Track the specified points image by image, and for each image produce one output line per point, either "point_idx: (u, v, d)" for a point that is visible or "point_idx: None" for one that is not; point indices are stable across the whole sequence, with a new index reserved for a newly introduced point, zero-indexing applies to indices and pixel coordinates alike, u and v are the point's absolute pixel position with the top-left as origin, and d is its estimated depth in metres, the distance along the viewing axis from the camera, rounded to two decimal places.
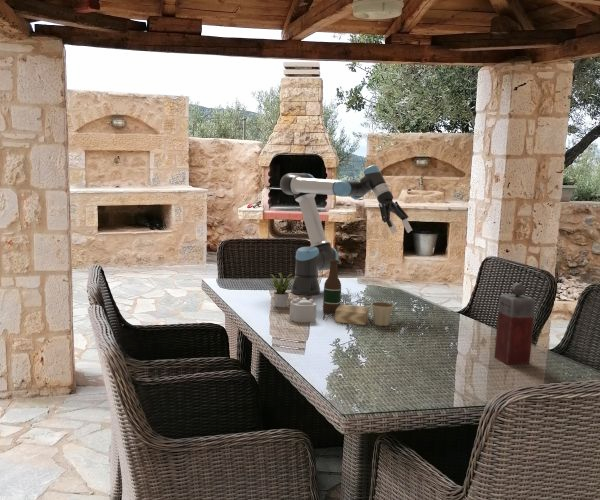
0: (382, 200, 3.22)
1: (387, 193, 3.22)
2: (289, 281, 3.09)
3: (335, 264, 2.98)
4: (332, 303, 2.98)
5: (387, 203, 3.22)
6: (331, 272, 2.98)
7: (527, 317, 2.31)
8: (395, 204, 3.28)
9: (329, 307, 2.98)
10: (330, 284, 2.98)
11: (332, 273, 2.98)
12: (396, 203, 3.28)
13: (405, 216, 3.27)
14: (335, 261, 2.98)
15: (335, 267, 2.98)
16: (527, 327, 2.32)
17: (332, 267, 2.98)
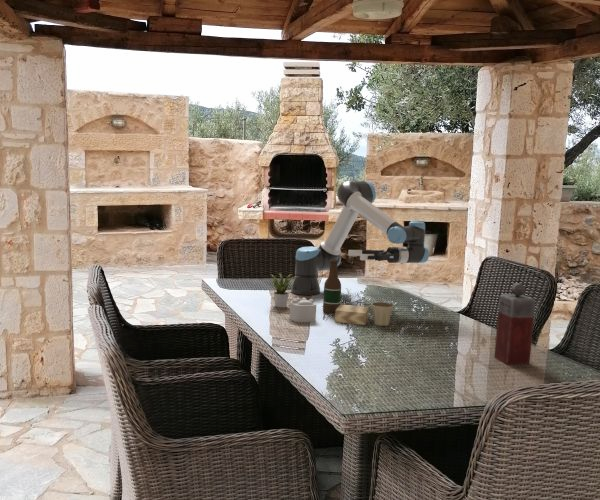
0: (393, 256, 3.04)
1: (395, 262, 3.07)
2: (289, 281, 3.09)
3: (335, 264, 2.98)
4: (332, 303, 2.98)
5: None
6: (331, 272, 2.98)
7: (527, 317, 2.31)
8: None
9: (329, 307, 2.98)
10: (329, 284, 2.98)
11: (332, 273, 2.98)
12: None
13: None
14: (335, 261, 2.98)
15: (335, 267, 2.98)
16: (527, 327, 2.32)
17: (332, 267, 2.98)
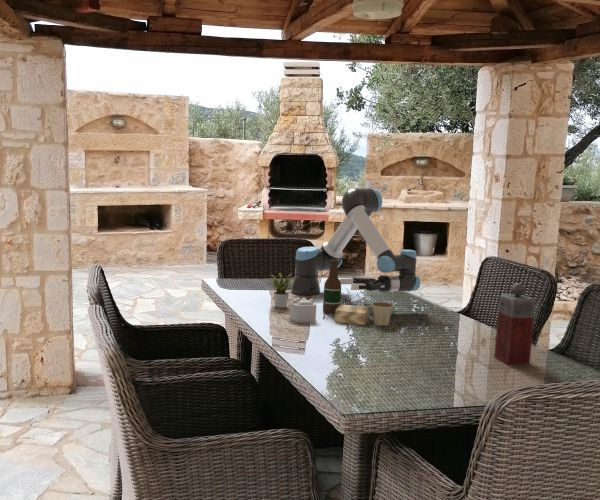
0: (384, 285, 3.04)
1: (386, 291, 3.07)
2: (288, 281, 3.09)
3: (335, 264, 2.98)
4: (332, 303, 2.98)
5: None
6: (331, 272, 2.98)
7: (527, 317, 2.31)
8: None
9: (329, 307, 2.98)
10: (330, 284, 2.98)
11: (332, 273, 2.98)
12: None
13: None
14: (335, 261, 2.98)
15: (335, 267, 2.98)
16: (527, 327, 2.32)
17: (332, 267, 2.98)
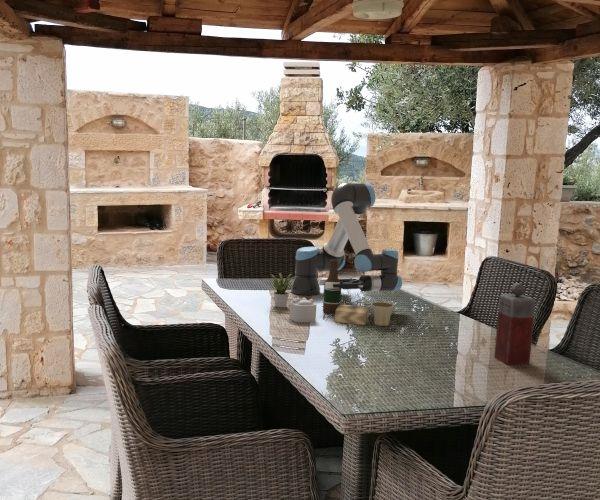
0: (365, 285, 3.02)
1: None
2: (289, 281, 3.09)
3: (335, 264, 2.98)
4: (332, 303, 2.98)
5: None
6: (331, 272, 2.98)
7: (527, 317, 2.31)
8: None
9: (329, 307, 2.98)
10: None
11: (332, 273, 2.98)
12: None
13: None
14: (335, 261, 2.98)
15: (335, 267, 2.98)
16: (527, 327, 2.32)
17: (332, 267, 2.98)
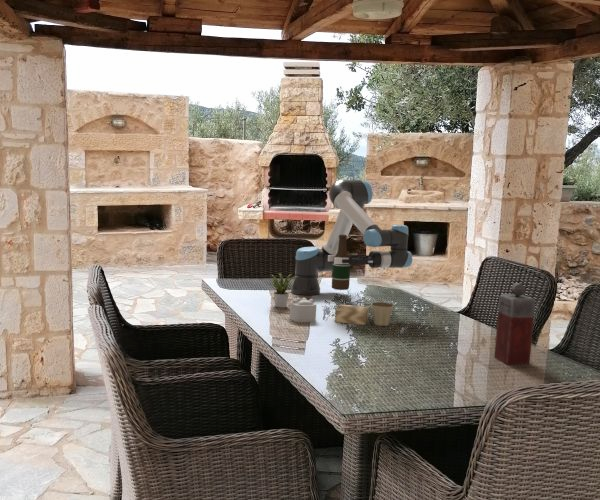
0: (375, 261, 2.95)
1: (377, 267, 2.98)
2: (289, 281, 3.09)
3: (344, 239, 2.92)
4: (342, 279, 2.91)
5: None
6: (340, 247, 2.92)
7: (527, 317, 2.31)
8: None
9: (338, 283, 2.92)
10: None
11: (341, 248, 2.92)
12: None
13: None
14: (344, 236, 2.91)
15: (344, 242, 2.92)
16: (527, 327, 2.32)
17: (341, 242, 2.92)
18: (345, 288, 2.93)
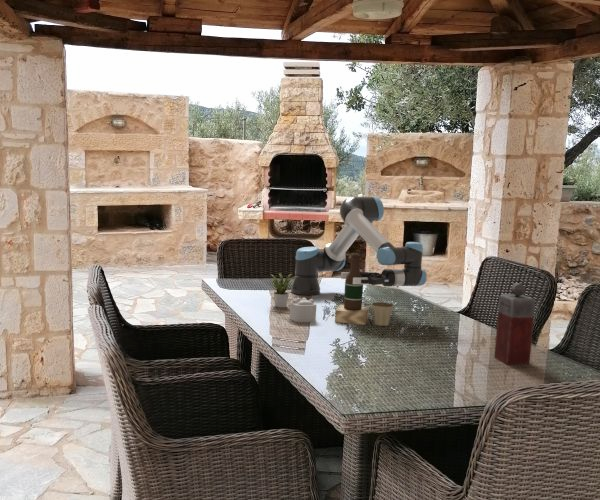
0: (388, 279, 2.87)
1: (390, 285, 2.90)
2: (289, 281, 3.09)
3: (357, 258, 2.84)
4: (354, 299, 2.83)
5: None
6: (353, 267, 2.84)
7: (527, 317, 2.31)
8: None
9: (351, 303, 2.84)
10: (351, 279, 2.83)
11: (354, 268, 2.84)
12: None
13: None
14: (357, 255, 2.83)
15: (357, 261, 2.84)
16: (527, 327, 2.32)
17: (354, 261, 2.84)
18: (358, 308, 2.85)
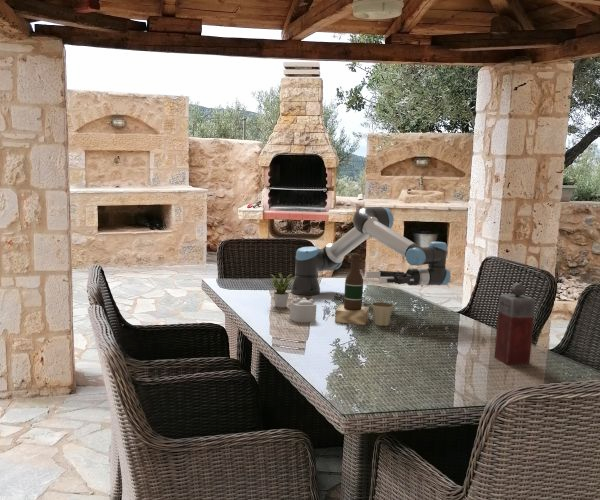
0: (413, 278, 2.91)
1: None
2: (288, 281, 3.09)
3: (357, 258, 2.84)
4: (354, 299, 2.83)
5: None
6: (353, 267, 2.84)
7: (527, 317, 2.31)
8: None
9: (351, 303, 2.84)
10: (351, 279, 2.83)
11: (354, 267, 2.84)
12: None
13: (381, 276, 2.98)
14: (357, 255, 2.83)
15: (357, 261, 2.84)
16: (527, 327, 2.32)
17: (354, 261, 2.84)
18: (358, 308, 2.85)
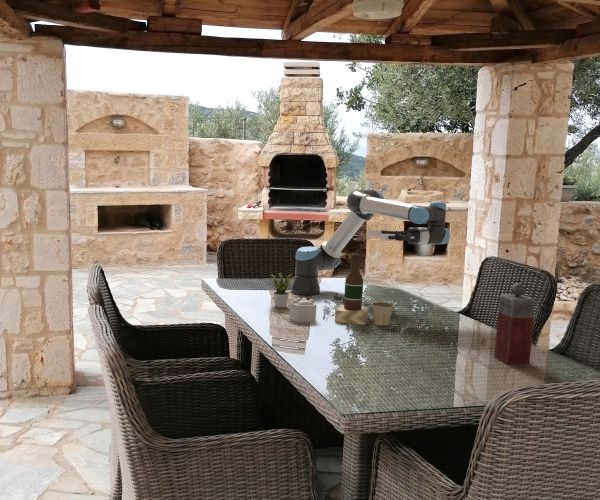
0: (413, 237, 2.99)
1: (415, 243, 3.01)
2: (289, 281, 3.09)
3: (357, 258, 2.84)
4: (354, 299, 2.83)
5: None
6: (353, 267, 2.84)
7: (527, 317, 2.31)
8: None
9: (351, 303, 2.84)
10: (351, 279, 2.83)
11: (354, 267, 2.84)
12: None
13: None
14: (357, 255, 2.83)
15: (357, 261, 2.84)
16: (527, 327, 2.32)
17: (354, 261, 2.84)
18: (358, 308, 2.85)
